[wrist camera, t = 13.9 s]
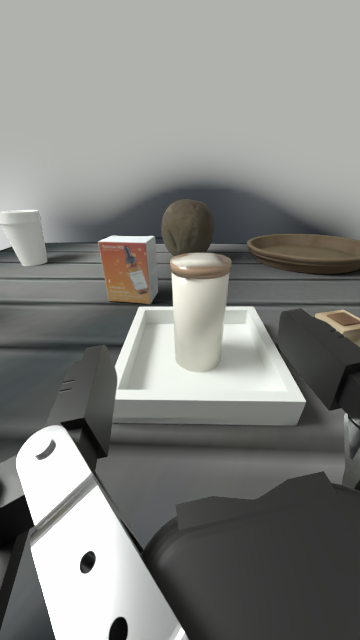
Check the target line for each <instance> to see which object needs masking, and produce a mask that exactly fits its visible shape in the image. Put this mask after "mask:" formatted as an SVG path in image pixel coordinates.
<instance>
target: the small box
mask: <svg viewBox="0 0 360 640" xmlns="http://www.w3.org/2000/svg"><path fill="white" fill-rule="evenodd" d="M98 243H99V249H100V255H101V260H102V266H103V271H104V277H105V282H106V288H107V294H108V299H109V301H119V302H132V303H143V304H151V303H152V301H153V299H154V298H155V296H156V294H157V293H158V278H157V261H156V244H155V237H154V236H149V237H147V236H144V237H143V236H139V237H137V236H110V237H108V238H105V239H103V240H101V241H99V242H98Z"/></svg>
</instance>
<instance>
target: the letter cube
mask: <svg viewBox="0 0 360 640" xmlns="http://www.w3.org/2000/svg"><path fill="white" fill-rule="evenodd" d="M315 318H318V319H320V320H322V321H325V322H327V323H328V324H330V325H331V326H332V327H334V328H335V329H336V331H339V332H340V333H341V334H343V335H344V337H347V338H348V339H349V340H351V341H352V342H353V343H355V344H356V345H357V346H359V347H360V318H358V317H356V316H354V315H352V314H350V313H348V312H346V311H345V310H338V311H331V312H324V313H318V314H316V315H315Z"/></svg>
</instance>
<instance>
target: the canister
mask: <svg viewBox="0 0 360 640" xmlns="http://www.w3.org/2000/svg"><path fill="white" fill-rule="evenodd" d="M170 266H171V272H172V290H173V317H174V344H175V360H176V362H177V364H178V365H179V366H181V367H182V368H183V369H186V370H188V371H192V372H206V371H209V370H212V369H214V368H215V367H216V366H218V364H219V363H220V360H221V350H222V340H223V330H224V320H225V310H226V299H227V289H228V279H229V273H230V271H231V259H230V258H228V257H226V256H224V255H220V254H214V253H186V254H181V255H177V256H175V257H173V258H172V259H171V260H170Z"/></svg>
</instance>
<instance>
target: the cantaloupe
mask: <svg viewBox="0 0 360 640" xmlns="http://www.w3.org/2000/svg"><path fill="white" fill-rule="evenodd" d="M161 228H162V237H163V241H164V244H165V246H166V248H167V249H168V251H169V252H170V253H171V254H172V255H173V256H177V255H181V254H186V253H205V252H206V251H207V250H208V248H209V246H210V244H211V241H212V238H213V234H214V220H213V216H212V213H211V212H210V210H209V208H208V207H207V205H205V204H204V203H203V202H198V201H194V200H188V199H184V200H178V201H176V202H174V203H172V204H171V205H170V206H169V207H168V208H167V210H166V212H165V214H164V216H163V219H162V227H161Z"/></svg>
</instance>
